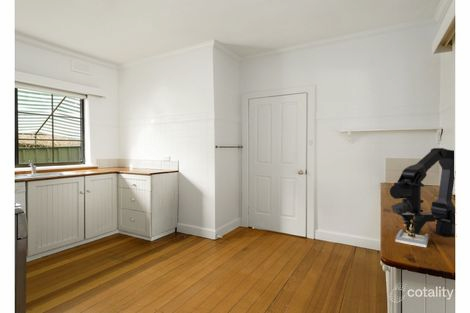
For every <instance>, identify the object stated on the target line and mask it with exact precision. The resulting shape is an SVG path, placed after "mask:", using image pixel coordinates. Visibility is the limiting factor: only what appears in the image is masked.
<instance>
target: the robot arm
mask: <svg viewBox="0 0 470 313" xmlns="http://www.w3.org/2000/svg"><path fill="white" fill-rule="evenodd" d="M454 150H455V149H454ZM454 150H453V149H447V148H444V147H434V148H431V149H430V151H429V152H428V153H427V154H425V156H424V157H423V158H421V159H420V160H419V161H418V162H417V163H415V164H412V165H409V166H407V167H405V168H404V169H403V170H402V173H401V175H400V176H399V179H398V180H397V181H396V182H394V183H393V185H392V186H391V187H390V189H389V194H390V196H391V197H392V199H393V198H394V199H395V200H396V199H399V200H400V199H402V200H401V202H398V203H395V204H392V205H391V206H390V207H391V209H392V213H394V214H397V215H398V216H400V218H402V220H403V222H404V221H408V222H409V223H410V225H411V224H412V222H411V220H412V221H413V222H414V226H413V230H414V231H415V234H416V235H419V233H420V232H421V230H422V229H423V227H424V225H426V223H429V222H430V223H431V222H433V223H434V222H436V223H435V230H434V231H433V233H435V234H437V235H439V236H442V237H444V238H445V237H447V238H448V237H449V238H450V236H452V237H453V238H454V237H455V234H456V224H455V213H456V206H455V205H454V202H453V201H452V199H453V192H454V186H455V184H454V183H455V178H456V176H455V177H454ZM437 162H438V164H439V165H440V168H441V174H440V181H439V188H438V196H437V199H436V200H435V201H432V202H431V208H430V212H424V209H422V208H421V207H422V203H424V199H422V188H423V187H425V185H424V184H423V181H424V179H425V178H426V177H427V172H428V171H429V170H430V169H431V168H432V167H433V166H435V164H437ZM408 222H405V224H407V227H409V223H408ZM407 227H405V229H407ZM408 230H410V229H409V228H408ZM455 238H456V237H455Z"/></svg>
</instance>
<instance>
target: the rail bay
mask: <svg viewBox="0 0 470 313" xmlns="http://www.w3.org/2000/svg"><path fill="white" fill-rule="evenodd" d="M409 234H410V233H409ZM407 235H408V232H404V229H401V228H400V229H399V231H398V233H397V234H396V236H395V242H396V243H402V244H404V245H405V244H406V245H411V246H416V247H422V248H427V246H428V243H429V233H425V234H424V235H421V234H415V236H416V238H409V236H407ZM413 235H414V234H413Z"/></svg>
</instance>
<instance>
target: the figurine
mask: <svg viewBox="0 0 470 313" xmlns="http://www.w3.org/2000/svg"><path fill="white" fill-rule="evenodd" d="M405 222H408V221H404V220H403V226H404V227H405V228H406V227H407V224H405ZM411 222H412V224H411V225H410V223H409V222H408V223H409V227H407V228H406V230H405V231H406V233H408V235H407V236H409V238H416V236H415V231H414V222H413V221H412V220H411ZM408 228H409V229H410V230H408ZM409 233H410V234H409ZM413 234H414V235H413Z"/></svg>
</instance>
